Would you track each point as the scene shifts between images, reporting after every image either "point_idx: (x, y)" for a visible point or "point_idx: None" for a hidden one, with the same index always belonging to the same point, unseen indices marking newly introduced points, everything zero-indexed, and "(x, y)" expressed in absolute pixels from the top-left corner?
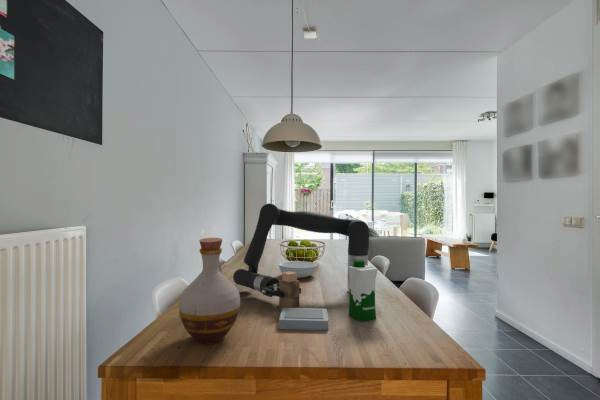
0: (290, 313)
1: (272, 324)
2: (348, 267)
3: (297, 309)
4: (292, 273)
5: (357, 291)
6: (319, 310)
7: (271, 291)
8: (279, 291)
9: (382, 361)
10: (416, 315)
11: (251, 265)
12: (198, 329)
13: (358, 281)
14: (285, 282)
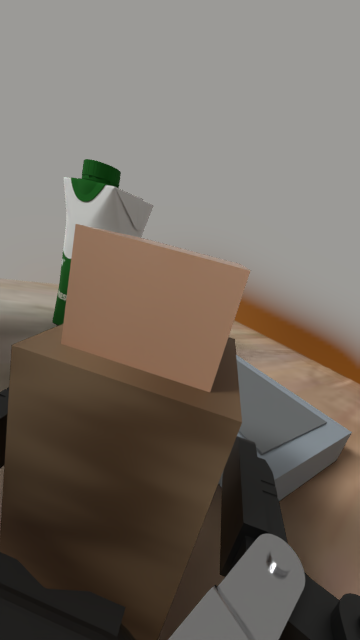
0: (281, 417)
1: (350, 506)
2: (117, 191)
3: None
4: (184, 249)
5: None
6: None
7: (353, 604)
8: (260, 482)
9: (241, 328)
10: (46, 285)
11: None
12: None
13: (141, 236)
14: (234, 361)
